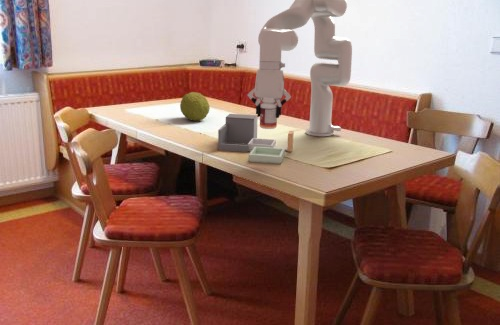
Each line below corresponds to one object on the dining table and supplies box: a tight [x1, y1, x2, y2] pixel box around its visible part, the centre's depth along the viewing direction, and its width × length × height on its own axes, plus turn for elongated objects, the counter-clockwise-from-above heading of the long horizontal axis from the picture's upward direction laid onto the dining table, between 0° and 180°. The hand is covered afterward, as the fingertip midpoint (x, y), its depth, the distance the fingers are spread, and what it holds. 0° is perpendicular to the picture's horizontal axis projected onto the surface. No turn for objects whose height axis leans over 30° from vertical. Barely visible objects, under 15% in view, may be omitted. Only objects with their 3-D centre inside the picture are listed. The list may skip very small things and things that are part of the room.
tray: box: [248, 147, 286, 165], centre depth 178 cm, size 12×12×3 cm
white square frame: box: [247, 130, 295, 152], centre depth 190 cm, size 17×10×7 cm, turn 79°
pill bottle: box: [259, 97, 278, 130], centre depth 173 cm, size 6×6×11 cm
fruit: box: [179, 91, 211, 122], centre depth 239 cm, size 16×14×15 cm
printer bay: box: [217, 113, 258, 153], centre depth 195 cm, size 12×20×11 cm, turn 169°
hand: (268, 116), depth 174 cm, fingers closed on pill bottle, 6 cm apart
